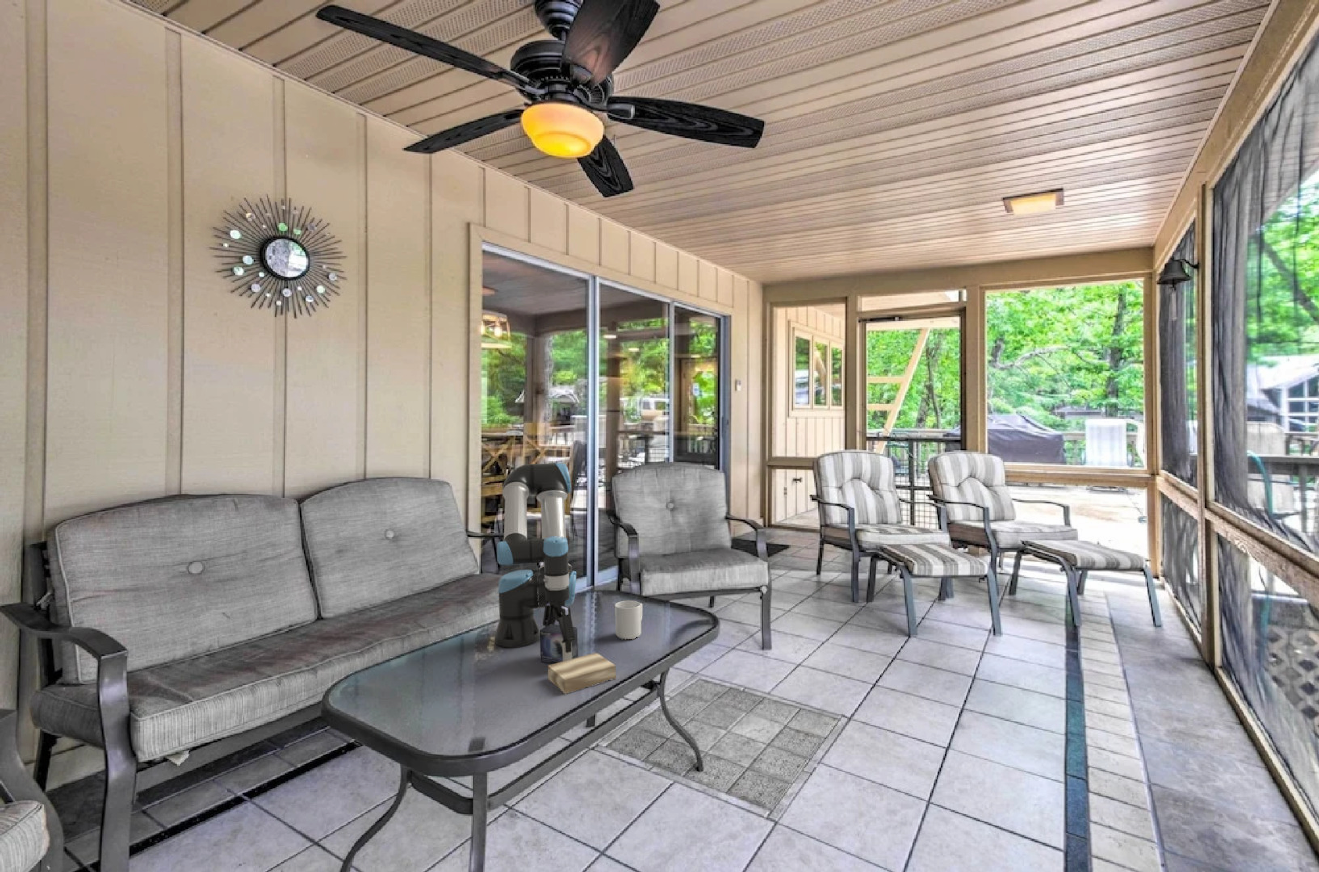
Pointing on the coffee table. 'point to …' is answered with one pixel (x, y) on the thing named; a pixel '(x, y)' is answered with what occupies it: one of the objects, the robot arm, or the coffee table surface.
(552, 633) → the small box
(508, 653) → the coffee table surface
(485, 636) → the coffee table surface
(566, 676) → the wooden block
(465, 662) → the coffee table surface
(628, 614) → the mug
